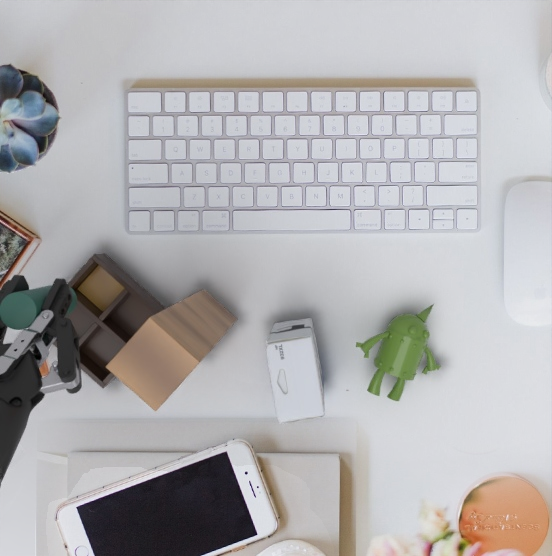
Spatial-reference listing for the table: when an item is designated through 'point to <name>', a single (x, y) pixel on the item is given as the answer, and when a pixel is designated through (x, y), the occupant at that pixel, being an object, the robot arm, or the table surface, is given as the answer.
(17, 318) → the green cylinder
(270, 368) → the ink box
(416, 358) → the character figure
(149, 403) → the pillar
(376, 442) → the table surface
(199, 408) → the table surface
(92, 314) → the grid
